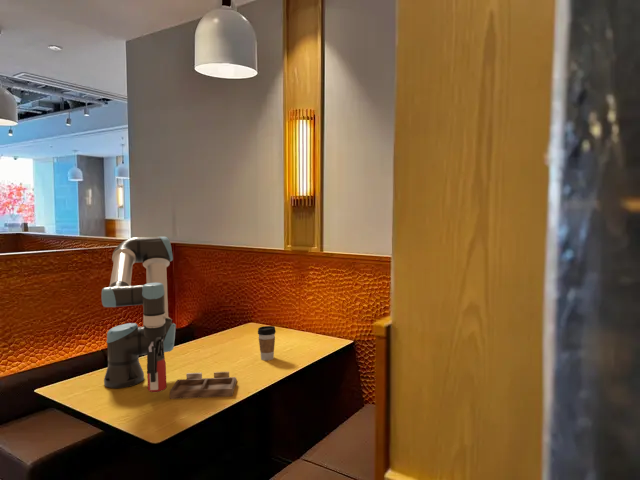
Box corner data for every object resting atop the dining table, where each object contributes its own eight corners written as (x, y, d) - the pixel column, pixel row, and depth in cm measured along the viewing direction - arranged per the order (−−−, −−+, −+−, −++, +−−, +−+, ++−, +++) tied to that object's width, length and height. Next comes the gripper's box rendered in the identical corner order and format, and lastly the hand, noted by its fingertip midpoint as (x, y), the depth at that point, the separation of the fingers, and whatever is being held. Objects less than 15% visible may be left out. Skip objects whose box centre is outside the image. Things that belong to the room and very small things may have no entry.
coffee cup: (273, 361, 206) (272, 329, 205) (255, 360, 208) (255, 329, 207) (278, 356, 215) (277, 325, 214) (261, 355, 216) (261, 324, 215)
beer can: (147, 394, 163) (145, 362, 162) (148, 386, 169) (147, 356, 168) (166, 391, 165) (164, 360, 164) (167, 384, 171) (166, 354, 170)
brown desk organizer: (170, 398, 167) (169, 388, 167) (179, 383, 182) (179, 373, 182) (232, 396, 169) (231, 385, 168) (236, 380, 184) (236, 371, 184)
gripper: (157, 332, 155) (160, 396, 157) (171, 317, 175) (173, 375, 177) (135, 333, 155) (138, 397, 157) (152, 318, 174) (154, 375, 176)
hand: (157, 385), depth 167 cm, fingers closed on beer can, 6 cm apart
